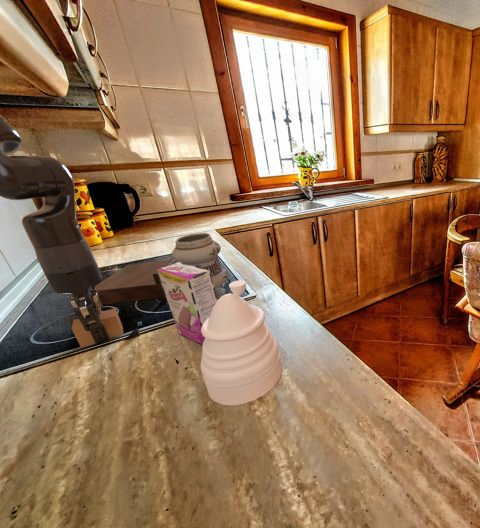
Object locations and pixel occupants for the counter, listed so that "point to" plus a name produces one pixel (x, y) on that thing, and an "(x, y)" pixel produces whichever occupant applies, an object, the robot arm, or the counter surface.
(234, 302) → the honey pot
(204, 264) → the apothecary jar
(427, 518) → the counter surface
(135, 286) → the shelf
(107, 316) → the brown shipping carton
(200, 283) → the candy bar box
